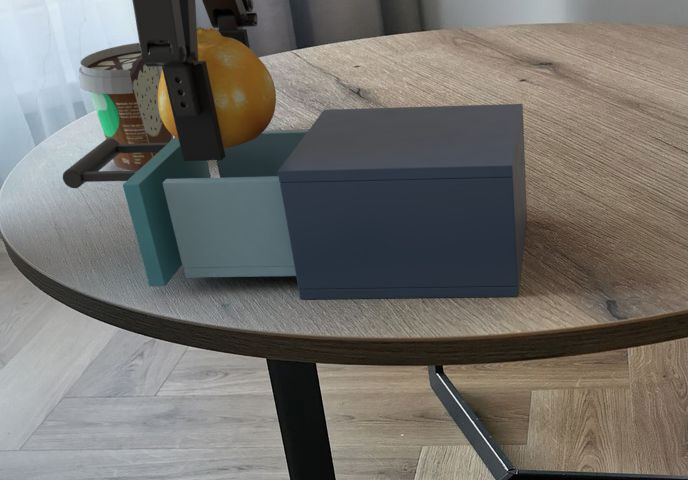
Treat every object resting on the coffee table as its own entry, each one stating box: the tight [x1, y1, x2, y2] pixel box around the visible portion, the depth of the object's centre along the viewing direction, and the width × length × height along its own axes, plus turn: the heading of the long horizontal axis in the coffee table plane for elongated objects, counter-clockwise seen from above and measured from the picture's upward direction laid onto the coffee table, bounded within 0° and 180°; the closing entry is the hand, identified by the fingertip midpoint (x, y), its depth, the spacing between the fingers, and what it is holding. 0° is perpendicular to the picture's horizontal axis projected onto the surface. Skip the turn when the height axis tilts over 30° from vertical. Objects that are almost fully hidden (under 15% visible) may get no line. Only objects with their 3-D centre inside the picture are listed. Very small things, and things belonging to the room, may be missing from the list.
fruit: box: [158, 26, 277, 148], centre depth 68 cm, size 8×8×8 cm
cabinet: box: [278, 103, 528, 300], centre depth 71 cm, size 16×14×10 cm
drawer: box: [62, 128, 310, 287], centre depth 72 cm, size 20×12×8 cm, turn 86°
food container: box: [78, 42, 174, 171], centre depth 95 cm, size 12×6×10 cm, turn 6°
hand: (225, 137), depth 70 cm, fingers closed on fruit, 8 cm apart
